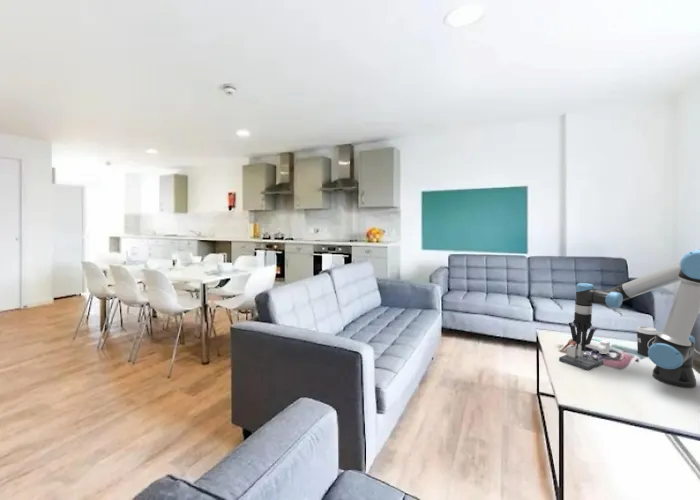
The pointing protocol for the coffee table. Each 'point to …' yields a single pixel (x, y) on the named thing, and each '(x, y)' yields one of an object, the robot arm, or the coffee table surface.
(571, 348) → the block
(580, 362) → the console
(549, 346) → the coffee table surface
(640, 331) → the coffee cup
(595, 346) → the bone shaped toy
